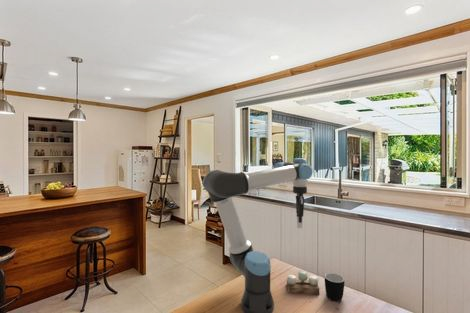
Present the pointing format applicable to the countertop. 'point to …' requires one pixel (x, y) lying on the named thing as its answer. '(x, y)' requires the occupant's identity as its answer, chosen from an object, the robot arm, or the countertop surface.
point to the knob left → (291, 279)
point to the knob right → (313, 280)
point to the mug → (334, 286)
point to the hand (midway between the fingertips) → (299, 227)
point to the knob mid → (302, 276)
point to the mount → (303, 288)
